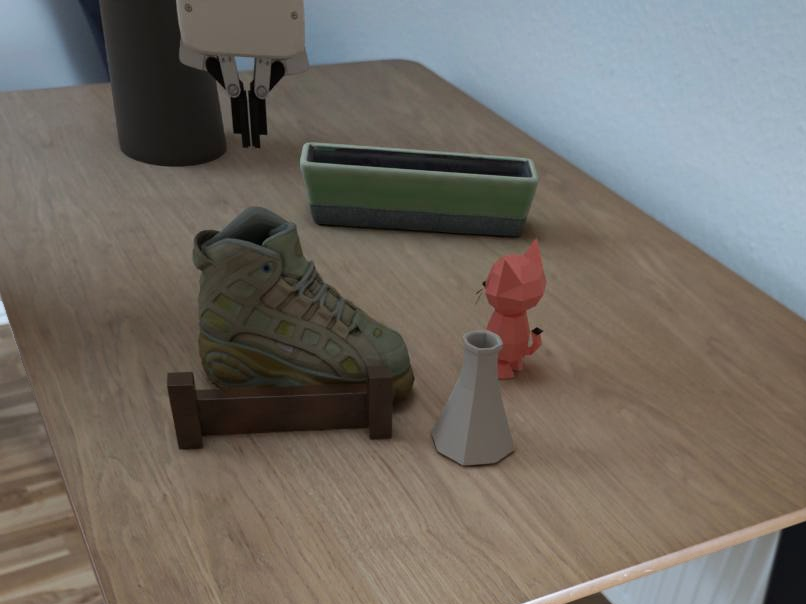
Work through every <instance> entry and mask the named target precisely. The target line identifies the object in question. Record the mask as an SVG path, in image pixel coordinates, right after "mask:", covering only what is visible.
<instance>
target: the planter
mask: <svg viewBox="0 0 806 604" xmlns="http://www.w3.org/2000/svg"><path fill="white" fill-rule="evenodd" d="M299 168H300V172H301V173H300V174H301V177H302V181H303V185H304V190H305V193H306V198H307V201H308V205H309V209H310V213H311V216H312V219H313V222H314V223H315V224H319V225H328V226H329V225H330V226H331V225H332V226H342V227H343V226H344V227H346V226H347V227H361V228H374V229H375V228H376V229H391V230H404V231H420V232H421V231H423V232H437V233H452V234H453V233H454V234H467V235H469V234H470V235H483V236H484V235H485V236H501V237H519V236H521V235H522V233H523V230H524V227H525V224H526V222H527V219H528V216H529V213H530V210H531V208H532V204H533V201H534V198H535V196H536V192H537V189H538V185H539V176H538V172H537V168H536V163H535V161H534V160H533V159H531V158H528V157H521V156H520V157H519V156H507V155H506V156H505V155H493V154H480V153H465V152H455V151H454V152H453V151H440V150H439V151H438V150H428V149H427V150H426V149H425V150H424V149H413V148H412V149H411V148H399V147H387V146H386V147H385V146H370V145H358V144H344V143H342V144H341V143H332V142H331V143H329V142H314V141H313V142H312V141H311V142H306V143H304V144H303V146H302V150H301V154H300V160H299Z"/></svg>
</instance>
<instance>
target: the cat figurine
mask: <svg viewBox="0 0 806 604" xmlns="http://www.w3.org/2000/svg"><path fill="white" fill-rule="evenodd" d="M481 285H482V286H483V287H484V291H485V292H484V293H485V296H486V300H487V303H488V304H489V305H490V306H491V307H492V308H493V309H494V310H493V312H492V314H491V316H490V318H489V321H488V323H487V325H486V328H485V330H488V331H490V332H493V333H495V334H497V335H499V336H500V338H501V340H502V342H503V348H502V349H501V350H500V351H499V353H498V362H497V370H498V380H507V379H508V380H509V379H514V377H515V373H514V371H517V372H520V371H522V370H524V366H523V361H522V359H524V358H526V356H530V357H531V356H532V355H534V354H535V353H536V351H537V350H538V349H539V348H540V347H541V346H542V345H543V341H542V336H541V335H542V333H543V332H544V330H543V329H541V328H540V327H538V326H536V327H535V328H533V329H532V330H531V329H530V328H531V327H530V322H529V318H528V313H527V311H528V310H530V309H533V308H535V307H536V306H538V303H539V302H540V301H541V299H542V298H543V296H544V294H545V290H546V287H547V278H546V274H545V271H544V266H543V261H542V256H541V250H540V245H539V241H538V237H535V239H534V240H533V242H532V243H531V244H530V246H529V247H528V248H527V250H526V251H525V253H524V254H516V253H512V254H511V253H510V254H505V255H503V256H502V257H500V258H499V259H497V260H496V261H495V262H493V265H492V267H491V269H490V271H489V273H488V275H487V277H486V280H484V281H482V284H481ZM482 291H483V288H481V289H480V290H478V291H477V292H476V294H475V295H477V294H479V293H480V292H481V293H480V295H479V296H478V298H477V300H476V301H475V304H474V305H475V306H476V305H477V303H478V301H479V300H480V298H481V296H482V294H483V292H482ZM530 336H531V338H532V344H531V346H529V342H530Z"/></svg>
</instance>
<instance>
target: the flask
mask: <svg viewBox="0 0 806 604" xmlns="http://www.w3.org/2000/svg"><path fill="white" fill-rule="evenodd" d="M461 340H462V341H461V342H462V343H463V346H464V354H463V361H462V363H461V364H462V365H461V368H460V372H459V375H458V378H457V380H456V382H455V384H454V386H453V388H452V391H451V393H450V395H449V397H448V399H447V400H446V402H445V404H444V406H443V409H442V410H441V412H440V414H439V416H438V418H437V419H436V420H435V423H434V425H433V427H432V429H431V431H430V433H431V436H432V439H433V442H434V445H435V448H436V451H437V452H439V453H440V454H442V455H444V456H446V457H447V458H449V459H451V460H453V461H454V462H456V463H458V464H460V465H461V466H474V465H486V464H496V463H497V462H499V461H501V460H502V459H504V458H505V457H506V456H508V455H509V454H511V453H512V452H513V451H515V450H516V446H515V443H514V439H513V435H512V432H511V429H510V425H509V421H508V418H507V414H506V410H505V406H504V402H503V398H502V393H501V390H500V385H499V383H500V382H499V379H498V370H497V362H498V353H499V351H500V350H501V349H502V348H503V342H502V340H501V338H500V336H499V335H497V334H495V333H493V332H490V331H488V330H486V329H478V330H477V329H474V330H471V331H468V332H466V333H465V334H463V335H462V336H461Z"/></svg>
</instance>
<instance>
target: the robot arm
mask: <svg viewBox="0 0 806 604" xmlns="http://www.w3.org/2000/svg"><path fill="white" fill-rule="evenodd" d="M176 4H177V14H178V22H179V28H180V32H181V41H180V50H179V59H180V61H181V63H182V64H184V65H187V66H190V67H193V68H196V69H199V70H202V71H203V70H204V71H207V72H209V73H210V74H211V75H212V76H213V77H214V78H215V80H216V83H217V84H219V85H220V86H221V87H222V88H223V89H224V90H225V92H226V94H227V95H228V96H229V98H230V112H231V121H232V124H231V125H232V134H233V135H241V146H242V149H249V147H251V146H252V148H253V147H254V149H262V147H261V136H268V120H267V119H268V118H267V101H266V100H267V98H268V97H269V95H270V92H271V91H272V90H273V89H274V88H275V87H276V86H277V84H278V83H279V82H280V81H281V80H282V78H284V77H287V76H293V75H298V74H303V73H306V72H308V71H309V70H310V62H309V57H308V53H307V49H306V14H305V0H176ZM236 57H237V58H239V57H240V58H254V60H253V61H254V62H253V73H252V74H253V75H252V80H251V81H250V83H249V90H246V89H245V87H244V82H243V81H242V80H241V79H240V76H239V71H238V66H237V62H236Z"/></svg>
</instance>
